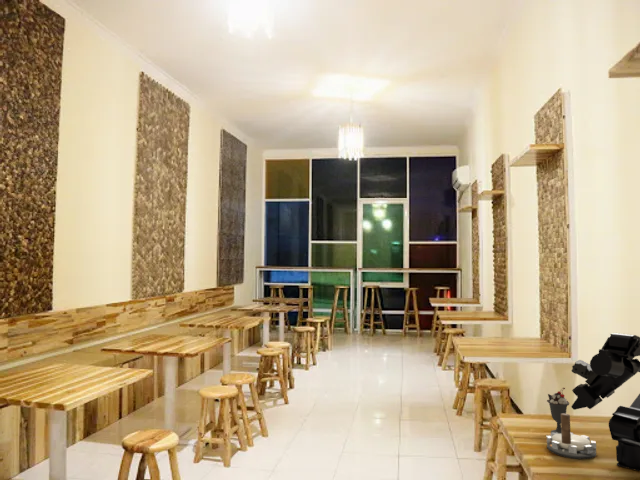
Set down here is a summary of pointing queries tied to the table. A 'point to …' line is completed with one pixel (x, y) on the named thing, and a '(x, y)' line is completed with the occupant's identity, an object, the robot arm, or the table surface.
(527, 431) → the table surface
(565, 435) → the dial
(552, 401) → the sundae
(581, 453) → the dial plate
